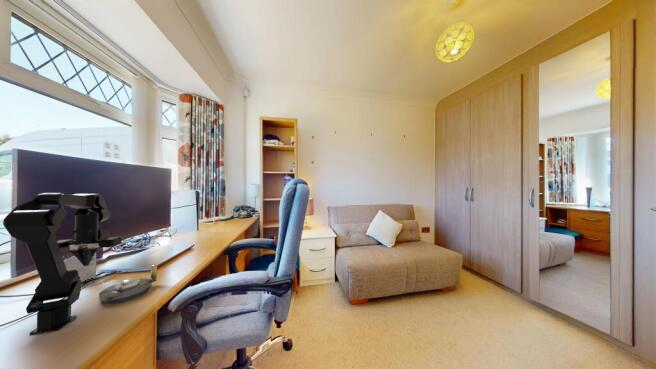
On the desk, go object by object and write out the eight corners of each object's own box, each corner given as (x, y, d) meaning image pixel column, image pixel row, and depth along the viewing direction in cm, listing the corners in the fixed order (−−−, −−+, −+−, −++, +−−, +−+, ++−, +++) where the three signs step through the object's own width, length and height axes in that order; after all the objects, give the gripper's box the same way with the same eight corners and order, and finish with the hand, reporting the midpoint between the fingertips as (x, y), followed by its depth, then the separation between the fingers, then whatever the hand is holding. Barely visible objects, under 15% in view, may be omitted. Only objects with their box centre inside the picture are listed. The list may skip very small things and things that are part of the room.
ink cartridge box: (95, 275, 96) (95, 245, 96) (96, 278, 93) (97, 247, 93) (61, 283, 88) (61, 251, 88) (61, 287, 85) (62, 253, 85)
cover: (118, 293, 75) (118, 286, 75) (112, 288, 78) (112, 281, 78) (142, 285, 81) (142, 278, 81) (135, 281, 84) (135, 274, 84)
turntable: (104, 306, 69) (105, 285, 69) (94, 294, 77) (94, 275, 77) (163, 285, 84) (164, 268, 84) (149, 277, 92) (150, 261, 92)
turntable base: (137, 300, 75) (137, 297, 75) (92, 306, 71) (92, 303, 71) (155, 284, 88) (155, 281, 88) (117, 288, 84) (117, 285, 84)
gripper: (130, 220, 87) (130, 256, 87) (73, 222, 81) (72, 260, 81) (112, 226, 76) (111, 265, 76) (45, 228, 70) (44, 272, 70)
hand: (86, 265), depth 76 cm, fingers closed
